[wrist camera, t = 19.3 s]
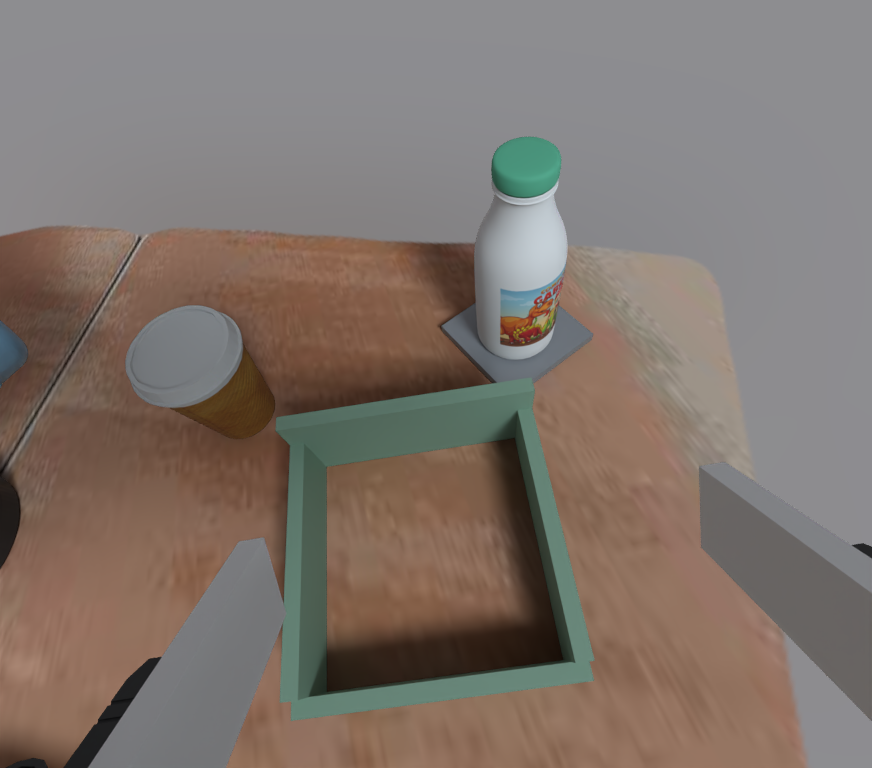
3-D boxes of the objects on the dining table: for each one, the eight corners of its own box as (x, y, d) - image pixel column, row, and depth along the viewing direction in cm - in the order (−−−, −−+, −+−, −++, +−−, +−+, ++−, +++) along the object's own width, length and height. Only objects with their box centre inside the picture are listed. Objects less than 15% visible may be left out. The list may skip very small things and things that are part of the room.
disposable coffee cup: (238, 360, 52) (173, 288, 41) (307, 389, 49) (257, 320, 38) (182, 433, 48) (94, 374, 37) (254, 469, 45) (181, 417, 35)
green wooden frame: (583, 676, 34) (610, 686, 26) (311, 713, 35) (257, 733, 27) (524, 424, 44) (531, 377, 36) (314, 456, 45) (276, 417, 37)
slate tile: (442, 331, 50) (441, 325, 50) (519, 278, 53) (519, 272, 52) (509, 401, 45) (510, 396, 45) (591, 339, 48) (593, 334, 47)
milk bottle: (470, 356, 47) (456, 190, 30) (485, 297, 51) (480, 117, 33) (547, 368, 46) (581, 199, 28) (557, 306, 49) (591, 122, 32)
